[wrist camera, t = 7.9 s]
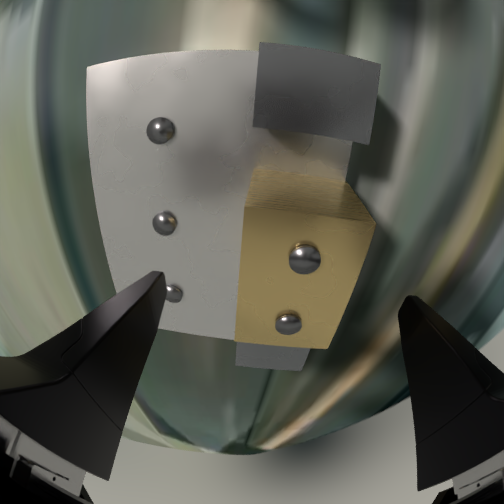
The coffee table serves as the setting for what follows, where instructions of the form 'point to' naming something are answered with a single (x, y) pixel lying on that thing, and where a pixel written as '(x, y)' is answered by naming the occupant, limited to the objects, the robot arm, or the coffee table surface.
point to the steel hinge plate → (213, 164)
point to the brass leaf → (298, 258)
